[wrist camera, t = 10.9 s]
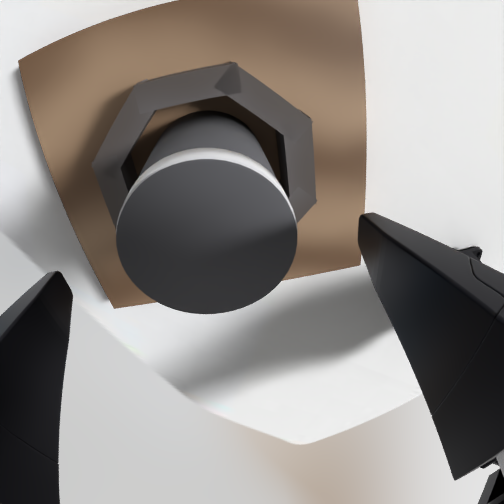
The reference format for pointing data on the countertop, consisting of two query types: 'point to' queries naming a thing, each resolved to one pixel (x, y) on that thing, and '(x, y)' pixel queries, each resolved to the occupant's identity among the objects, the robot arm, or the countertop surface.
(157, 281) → the lens
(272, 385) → the countertop surface
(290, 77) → the mount
